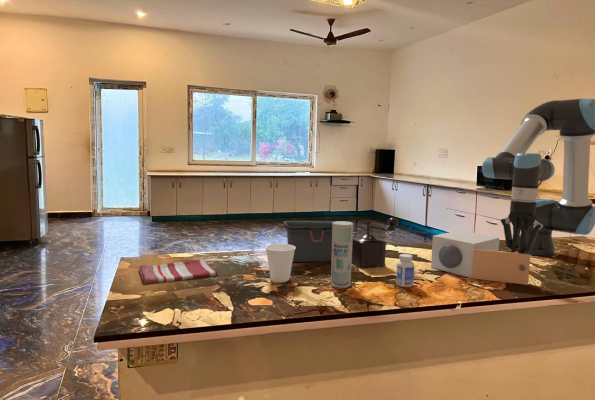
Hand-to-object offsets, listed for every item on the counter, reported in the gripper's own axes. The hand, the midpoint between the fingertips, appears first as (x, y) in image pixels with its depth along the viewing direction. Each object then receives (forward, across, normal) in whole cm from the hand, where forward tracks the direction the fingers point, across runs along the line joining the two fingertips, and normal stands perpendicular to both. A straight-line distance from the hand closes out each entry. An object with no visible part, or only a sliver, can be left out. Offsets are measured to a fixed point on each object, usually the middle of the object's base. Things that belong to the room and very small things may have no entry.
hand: (517, 270), depth 142 cm
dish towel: (+5, -72, -88) cm, 114 cm away
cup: (+5, -47, -64) cm, 79 cm away
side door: (+4, -3, -6) cm, 7 cm away
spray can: (+4, -32, -51) cm, 60 cm away
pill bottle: (+4, -20, -34) cm, 39 cm away
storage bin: (+5, -60, -39) cm, 71 cm away
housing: (+4, -19, 0) cm, 19 cm away
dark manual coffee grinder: (+5, -43, -23) cm, 49 cm away
